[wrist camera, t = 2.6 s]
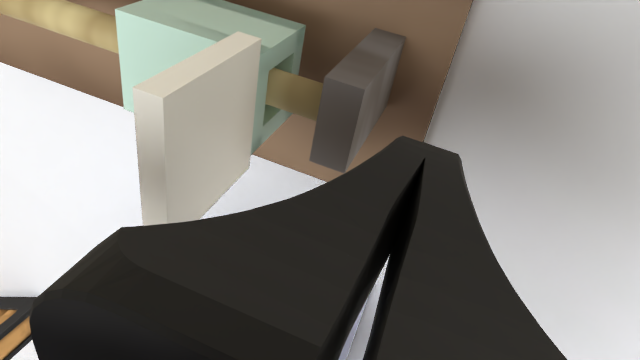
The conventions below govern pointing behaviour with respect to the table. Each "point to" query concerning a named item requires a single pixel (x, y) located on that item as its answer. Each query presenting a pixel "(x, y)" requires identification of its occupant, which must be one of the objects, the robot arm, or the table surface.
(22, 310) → the ammunition clip
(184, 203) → the green sliding block
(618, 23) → the table surface
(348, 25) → the brown plate
